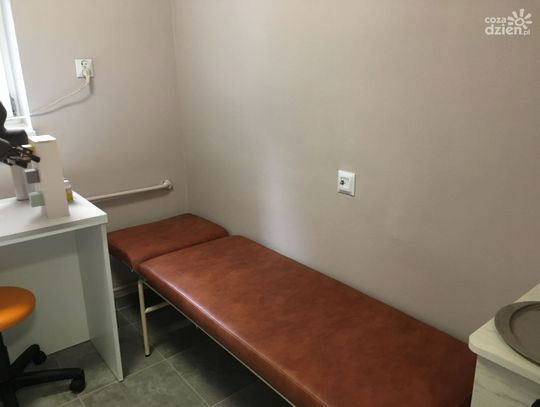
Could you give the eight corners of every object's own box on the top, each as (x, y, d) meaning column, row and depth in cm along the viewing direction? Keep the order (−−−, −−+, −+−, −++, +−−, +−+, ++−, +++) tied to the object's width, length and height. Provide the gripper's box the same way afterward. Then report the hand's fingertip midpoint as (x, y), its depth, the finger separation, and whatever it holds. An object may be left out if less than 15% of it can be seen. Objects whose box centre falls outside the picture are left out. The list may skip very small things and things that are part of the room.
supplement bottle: (58, 202, 204) (54, 182, 201) (67, 199, 209) (64, 179, 206) (67, 203, 202) (63, 182, 199) (76, 200, 207) (72, 180, 204)
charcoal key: (25, 181, 183) (23, 169, 181) (42, 178, 186) (40, 167, 185) (28, 184, 178) (25, 172, 177) (45, 181, 182) (43, 169, 180)
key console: (41, 209, 194) (27, 137, 185) (60, 205, 199) (48, 135, 189) (49, 218, 180) (34, 141, 171) (69, 214, 185) (56, 139, 175)
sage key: (30, 204, 186) (28, 193, 184) (47, 201, 189) (45, 190, 188) (32, 207, 181) (30, 195, 180) (49, 204, 185) (47, 193, 183)
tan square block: (21, 157, 180) (18, 145, 179) (38, 155, 184) (36, 143, 182) (23, 159, 175) (20, 147, 174) (41, 157, 179) (38, 145, 177)
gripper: (5, 131, 160) (45, 150, 173) (-17, 142, 167) (24, 160, 180) (0, 148, 157) (42, 167, 170) (-21, 159, 164) (20, 176, 177)
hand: (33, 163), depth 175 cm, fingers open, 8 cm apart
